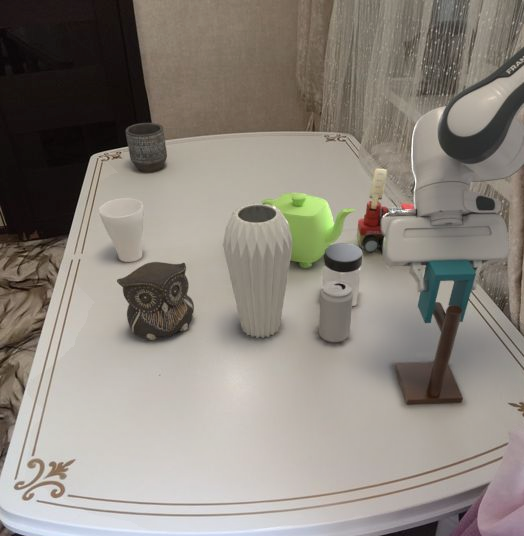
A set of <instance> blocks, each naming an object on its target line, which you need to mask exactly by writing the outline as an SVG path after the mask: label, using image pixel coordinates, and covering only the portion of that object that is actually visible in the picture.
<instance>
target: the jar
mask: <svg viewBox="0 0 524 536" xmlns="http://www.w3.org/2000/svg"><path fill="white" fill-rule="evenodd" d="M363 256H364V253H363V250H362V248H360V247H359V246H357V245H355V244H352V243H347V242H338V243H332V244H330V246H329V247H327V248H326V250H325V253H324V254H323V263H324V264H323V269H322V286H321V289H322V288H323V285H324V284H325V283H326V282H328V281H330V280H343V281H346V282H348V283H349V284H350V285H351V287H352V291H353V302H352V307H355V306H357V304H358V296H359V287H360V277H361V269H362V264H363Z"/></svg>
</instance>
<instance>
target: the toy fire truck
mask: <svg viewBox="0 0 524 536" xmlns="http://www.w3.org/2000/svg"><path fill="white" fill-rule="evenodd" d="M373 173H374V174H373V178H372V182H371V188H370V192H369V199H371V200H369V201H367V202H366V209H365V214H364V216H363V218H359V219H358V222H357V230H356V238H357V241H358V244H359V246H361V247H362V248H363V250H364V251H365V252H367V253H369V254H372V253H375V252H376V251H378V249H379V248H380V250H381V251H382V252H383V241H384V235H383V234H382V232H381V218H382V217H383V215H385V214H386V213H389V211H391V210H397V211H402V210H412V209H414V210H415V208H414V204H411V203H408V202H404V203H400V205H399V206H386V205H382V202H380V201H379V200H382V199H383V195H384V190H385V185H386V179H387V176H388V175H387V174H388V169H386V168H385V169H384V168H375V169H374V172H373ZM386 217H389V215H388V216H386Z"/></svg>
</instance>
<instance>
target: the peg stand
mask: <svg viewBox="0 0 524 536" xmlns="http://www.w3.org/2000/svg"><path fill="white" fill-rule="evenodd" d="M462 312H463V311H462V309H461V308H460V307H459V306H455V305H451V306H449V305H448V306H447V308H446V310H445V309H444V307H443V305H442V303H441V302H439V301H436V302H435V307H434V311H433V315H432V317H433V318H434V320H435V322H436V325H437V327H438V329H439V331H440V335H439V339H438V343H437V348H436V351H435V356H434V360H433V361H412V362H411V361H410V362H407V361H406V362H395V365H394V369H395V372H396V376H397V378H398V381H399V385H400V388H401V391H402V394H403V397H404V399H405V404H406V405H427V404H454V403H455V404H458V403H463V398H464V397H463V395H462V393H461V390H460V388H459V384H458V383H457V381H456V379H455V375H454V374H453V372H452V369H451V367H450V365H449V363H450V359H451V356H452V352H453V348H454V345H455V341H456V338H457V337H456V336H457V333H458V330H459V326H460V323H461V322H460V319H461V315H462Z"/></svg>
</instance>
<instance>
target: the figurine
mask: <svg viewBox="0 0 524 536" xmlns="http://www.w3.org/2000/svg"><path fill="white" fill-rule="evenodd" d="M186 271H187V265H186V263H185V262H182V263H170V262H161V261H152V262H147V263H144V264H143V265H141V266H139V267H137V268H136V269H134V271H132V272H130V273H129V274H128V275H125V276H124V277H121V278H117V279H116V283H117V284H118V285H119V286H121V287H122V293H123V298H124V299H125V301H126V302H127V303H128V306H127V310H126V319H127V323H128V326H129V328H130V330H131V332H132V333H133V334H135V335H136V336H138V337H141V338H146V339H147V340H149V341H154V340H156V339H157V338H158V339H159V338H167V337H171V336H173V335H175V334H176V333H177V332H185V331H186V330H188V329H189V324H190V322H191V320H192V318H193V315H194V311H195V304H194V301H193V299H192V297H191V296H189V295H188V291H189V288H190V287H189V285H190V284H189V279H188V277H187V275H186Z"/></svg>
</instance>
